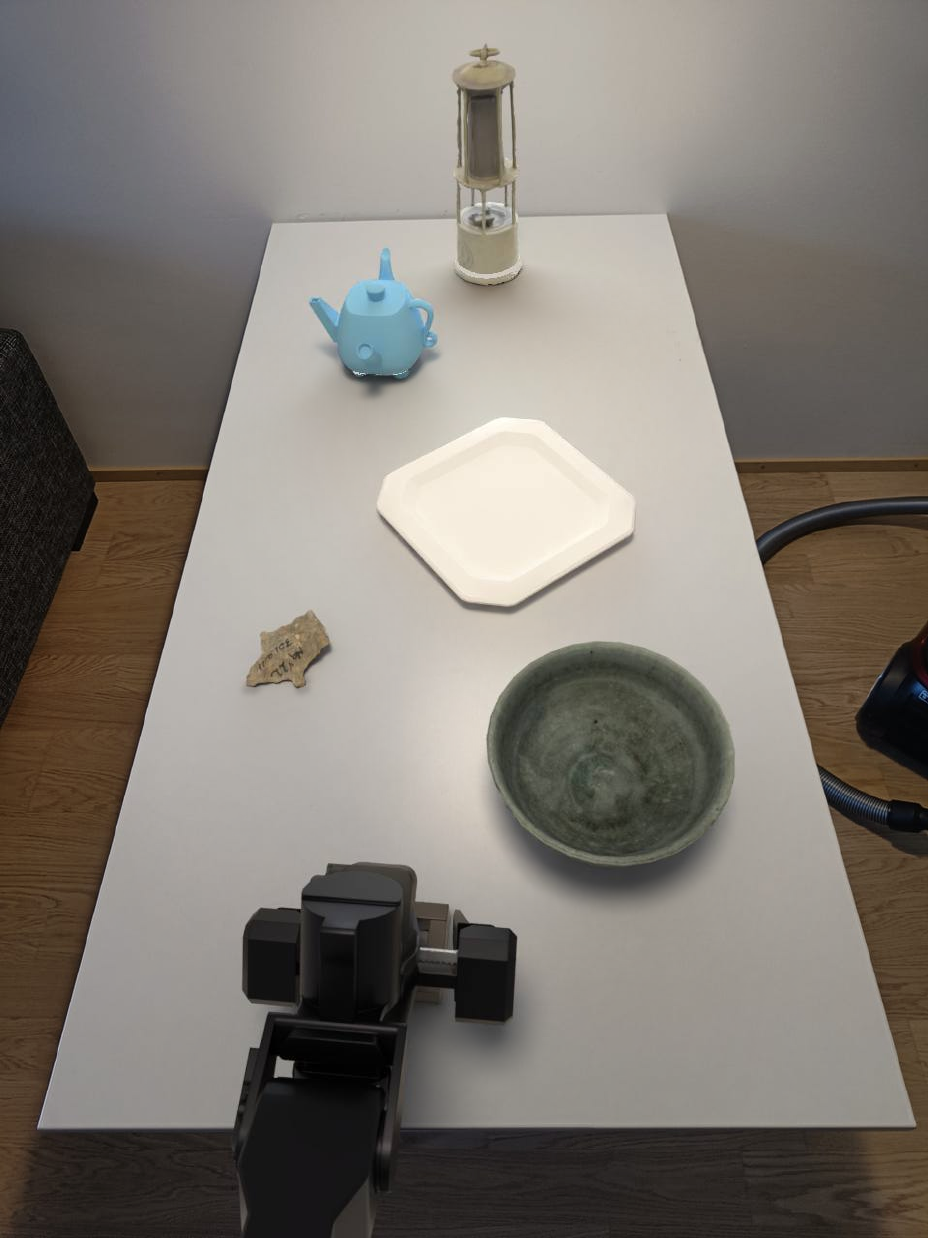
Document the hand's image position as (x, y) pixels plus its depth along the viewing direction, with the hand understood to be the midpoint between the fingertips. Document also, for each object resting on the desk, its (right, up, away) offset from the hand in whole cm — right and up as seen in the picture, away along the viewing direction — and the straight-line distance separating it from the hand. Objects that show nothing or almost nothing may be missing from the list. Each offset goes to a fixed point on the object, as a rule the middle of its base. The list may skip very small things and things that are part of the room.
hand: (398, 910), depth 69 cm
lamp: (+9, +78, +67) cm, 103 cm away
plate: (+10, +35, +35) cm, 50 cm away
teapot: (-7, +59, +53) cm, 79 cm away
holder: (0, -5, +5) cm, 7 cm away
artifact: (-13, +19, +23) cm, 32 cm away
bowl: (+18, +7, +13) cm, 23 cm away
